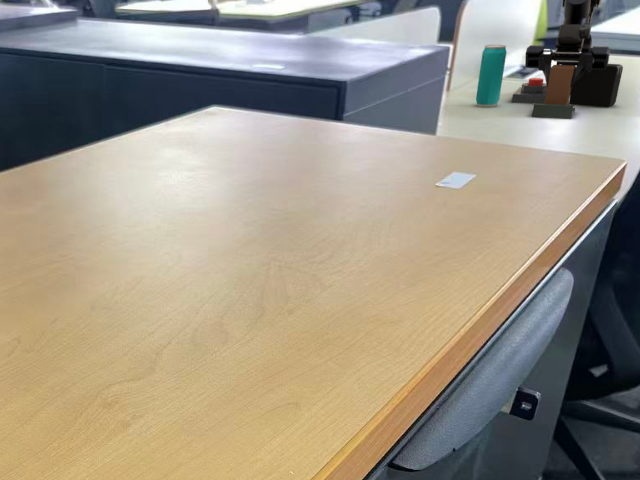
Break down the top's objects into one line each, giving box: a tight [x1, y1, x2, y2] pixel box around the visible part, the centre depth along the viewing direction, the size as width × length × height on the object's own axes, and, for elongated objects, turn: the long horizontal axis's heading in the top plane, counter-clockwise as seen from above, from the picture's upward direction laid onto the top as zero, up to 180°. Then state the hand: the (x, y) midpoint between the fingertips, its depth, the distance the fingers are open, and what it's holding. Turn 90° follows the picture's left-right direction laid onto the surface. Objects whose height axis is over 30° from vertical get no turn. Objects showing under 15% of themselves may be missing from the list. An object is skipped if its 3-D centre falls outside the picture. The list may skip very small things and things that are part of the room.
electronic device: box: [569, 63, 624, 108], centre depth 221 cm, size 4×10×10 cm, turn 44°
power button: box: [527, 77, 545, 86], centre depth 231 cm, size 4×4×2 cm
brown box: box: [545, 64, 576, 105], centre depth 213 cm, size 5×5×11 cm
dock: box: [531, 103, 576, 120], centre depth 213 cm, size 8×9×3 cm
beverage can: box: [475, 44, 507, 108], centre depth 224 cm, size 6×6×15 cm
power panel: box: [511, 82, 547, 104], centre depth 232 cm, size 12×9×4 cm
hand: (559, 86), depth 212 cm, fingers closed on brown box, 5 cm apart
